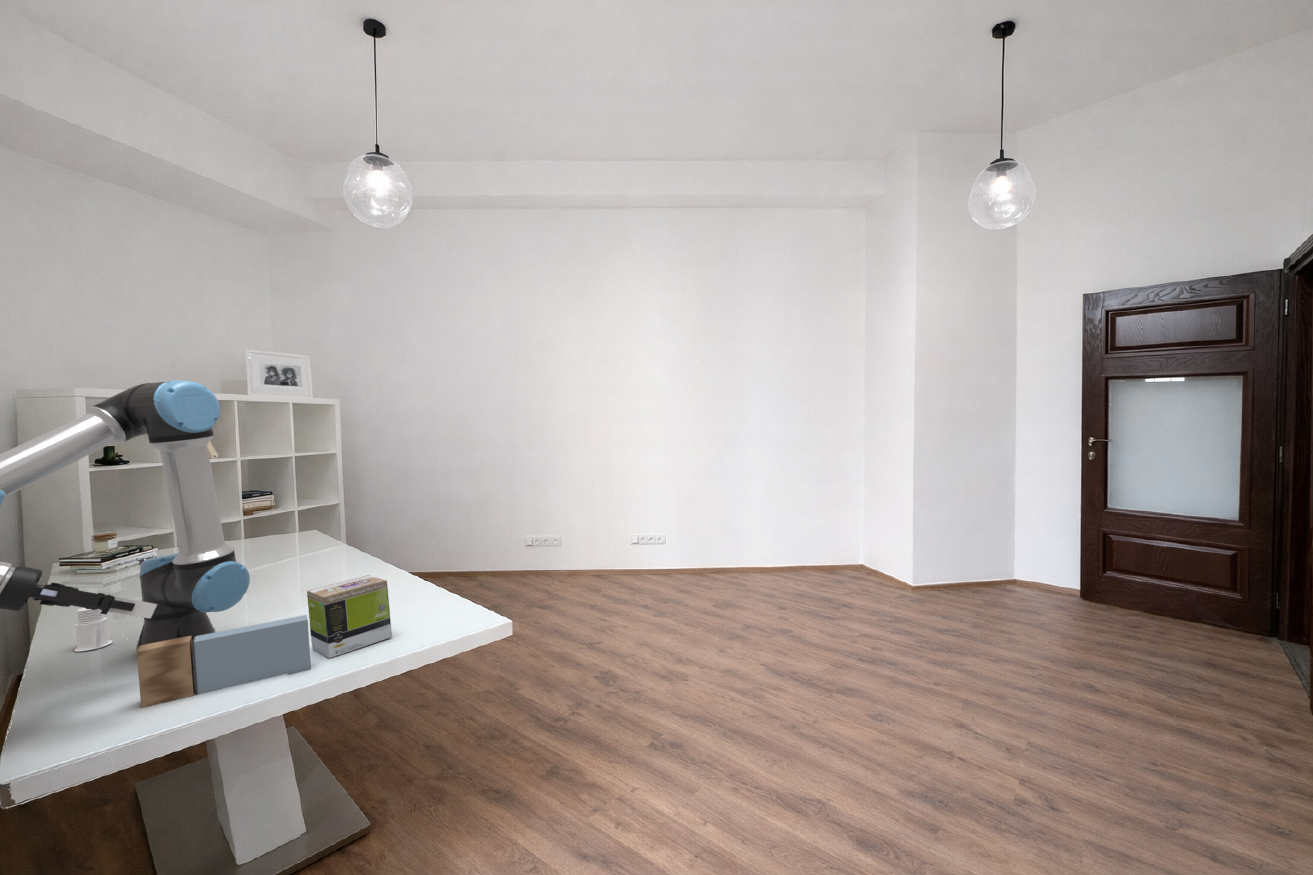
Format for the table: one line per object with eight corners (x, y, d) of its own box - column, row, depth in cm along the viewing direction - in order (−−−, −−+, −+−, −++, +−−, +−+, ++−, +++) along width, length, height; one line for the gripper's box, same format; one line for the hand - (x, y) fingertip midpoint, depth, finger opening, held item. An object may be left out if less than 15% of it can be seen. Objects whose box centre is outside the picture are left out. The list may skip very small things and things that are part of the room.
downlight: (118, 644, 149) (114, 604, 149) (80, 654, 143) (76, 613, 143) (106, 640, 154) (102, 602, 153) (69, 650, 148) (65, 610, 147)
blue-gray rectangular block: (196, 696, 119) (191, 642, 118) (198, 688, 122) (194, 636, 122) (311, 669, 130) (307, 619, 129) (309, 662, 133) (306, 614, 133)
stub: (141, 707, 114) (136, 651, 114) (144, 699, 118) (140, 645, 117) (193, 695, 119) (189, 641, 118) (195, 687, 122) (191, 635, 122)
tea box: (373, 630, 153) (370, 573, 152) (392, 638, 146) (389, 579, 146) (310, 649, 141) (306, 588, 140) (328, 660, 135) (323, 596, 134)
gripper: (-12, 606, 112) (126, 628, 126) (-8, 607, 96) (149, 632, 110) (11, 567, 115) (144, 592, 129) (19, 561, 99) (169, 591, 113)
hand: (147, 610), depth 119 cm, fingers open, 13 cm apart
